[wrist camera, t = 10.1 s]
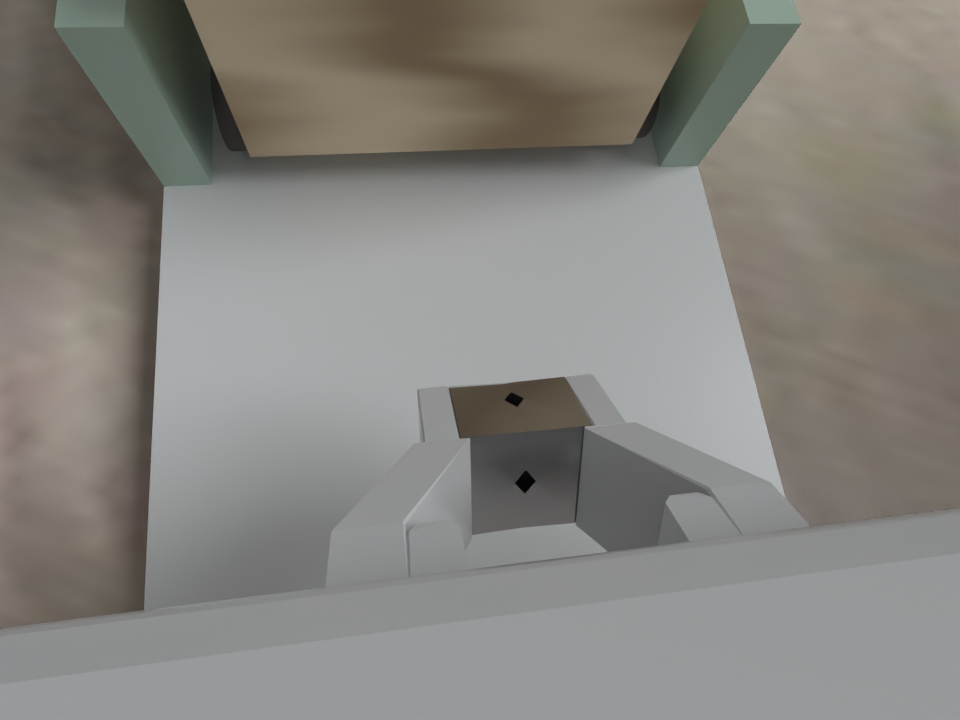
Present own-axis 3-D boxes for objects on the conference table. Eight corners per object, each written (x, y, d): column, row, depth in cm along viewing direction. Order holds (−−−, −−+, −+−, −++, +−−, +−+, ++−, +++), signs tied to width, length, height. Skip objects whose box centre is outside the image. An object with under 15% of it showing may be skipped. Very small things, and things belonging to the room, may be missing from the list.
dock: (607, -115, 22) (672, -341, 17) (842, 814, 14) (1149, 1005, 8) (191, -127, 20) (104, -387, 15) (149, 953, 12) (-108, 1341, 6)
